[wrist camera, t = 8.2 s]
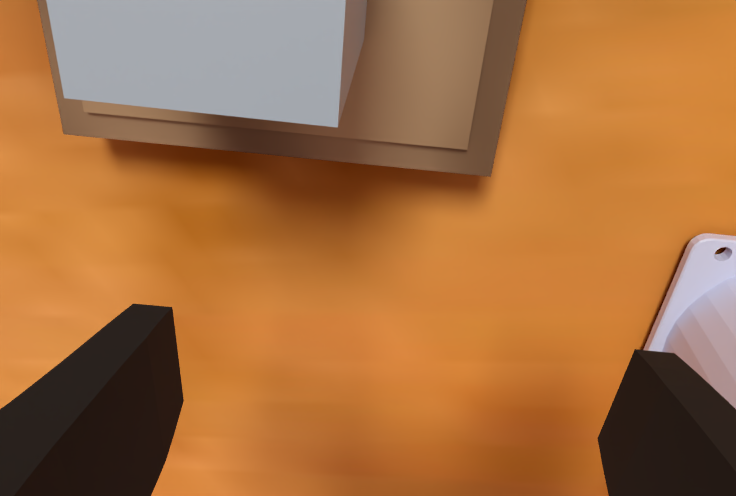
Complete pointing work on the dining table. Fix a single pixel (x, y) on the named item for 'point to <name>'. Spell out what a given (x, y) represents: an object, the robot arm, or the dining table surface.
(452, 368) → the dining table surface
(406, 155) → the plinth
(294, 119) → the block
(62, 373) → the robot arm
